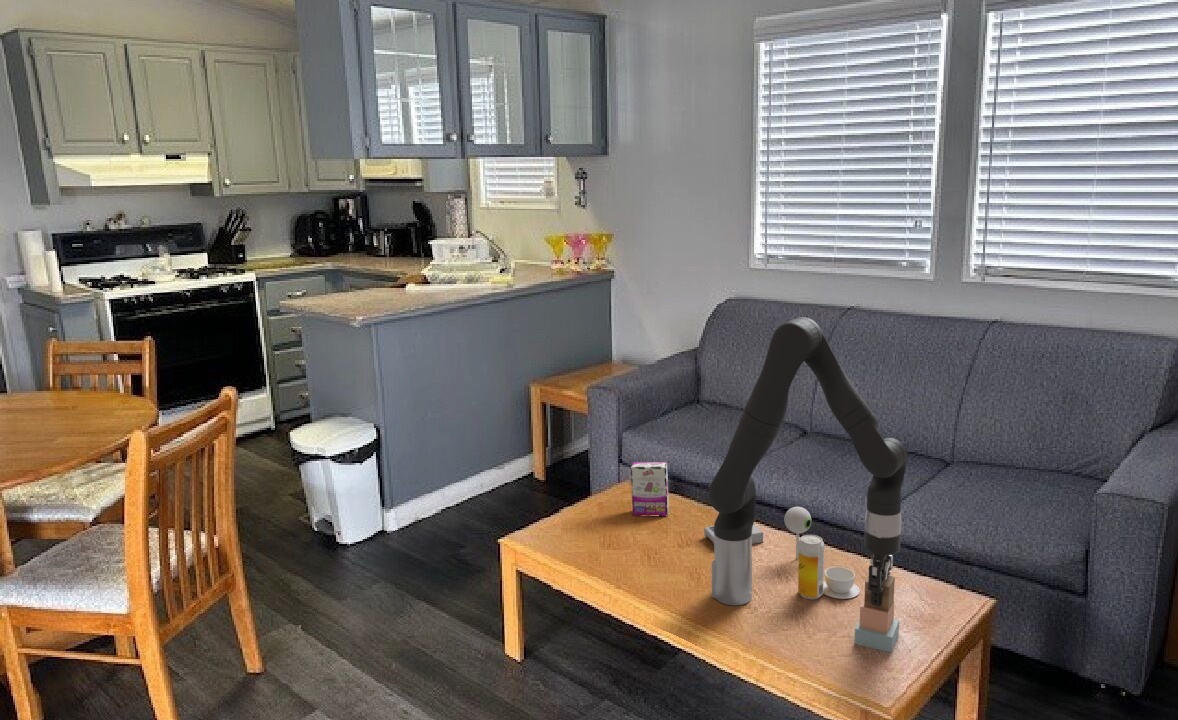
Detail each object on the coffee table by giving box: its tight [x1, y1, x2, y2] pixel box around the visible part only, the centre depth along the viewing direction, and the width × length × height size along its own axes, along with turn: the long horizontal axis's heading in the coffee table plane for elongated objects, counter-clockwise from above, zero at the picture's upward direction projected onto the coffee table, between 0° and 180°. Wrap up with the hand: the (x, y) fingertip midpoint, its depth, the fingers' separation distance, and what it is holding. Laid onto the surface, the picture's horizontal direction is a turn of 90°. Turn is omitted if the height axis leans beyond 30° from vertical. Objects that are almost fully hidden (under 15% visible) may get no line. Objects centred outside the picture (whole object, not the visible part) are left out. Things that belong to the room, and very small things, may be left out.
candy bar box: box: [630, 461, 670, 517], centre depth 259 cm, size 11×5×16 cm, turn 81°
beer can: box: [797, 534, 825, 600], centre depth 206 cm, size 6×6×15 cm
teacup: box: [823, 566, 861, 600], centre depth 209 cm, size 10×10×5 cm
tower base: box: [854, 618, 900, 654], centre depth 187 cm, size 8×8×4 cm
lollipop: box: [783, 506, 812, 560], centre depth 225 cm, size 7×7×15 cm
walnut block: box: [863, 574, 896, 612], centre depth 185 cm, size 5×5×6 cm
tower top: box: [859, 600, 895, 634], centre depth 186 cm, size 6×6×5 cm
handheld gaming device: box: [703, 523, 764, 545], centre depth 239 cm, size 9×15×4 cm, turn 104°
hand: (880, 597), depth 185 cm, fingers open, 6 cm apart
